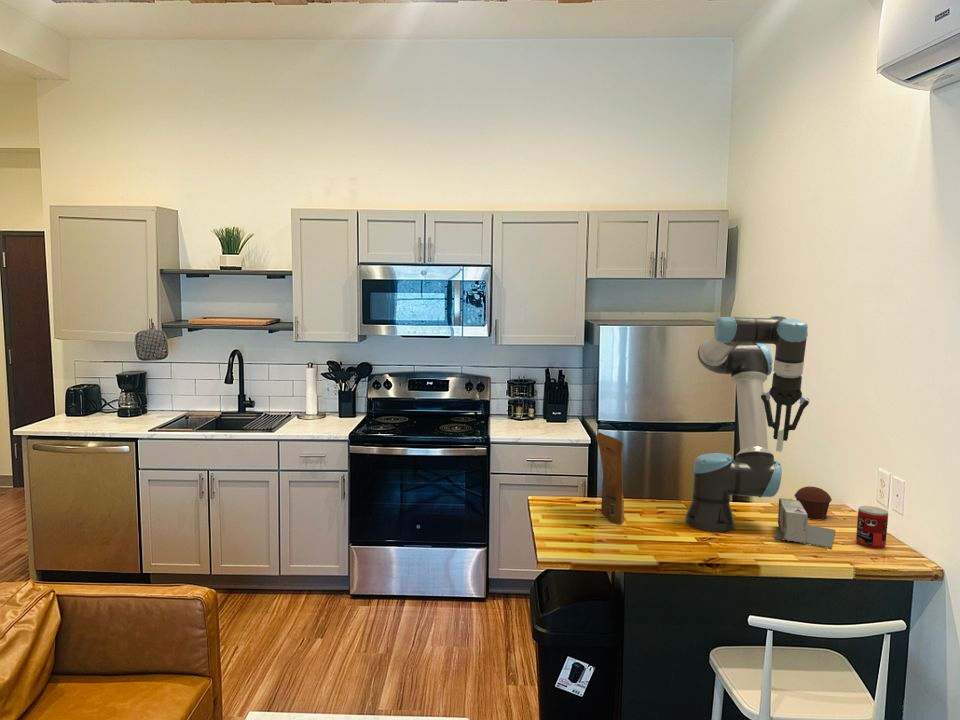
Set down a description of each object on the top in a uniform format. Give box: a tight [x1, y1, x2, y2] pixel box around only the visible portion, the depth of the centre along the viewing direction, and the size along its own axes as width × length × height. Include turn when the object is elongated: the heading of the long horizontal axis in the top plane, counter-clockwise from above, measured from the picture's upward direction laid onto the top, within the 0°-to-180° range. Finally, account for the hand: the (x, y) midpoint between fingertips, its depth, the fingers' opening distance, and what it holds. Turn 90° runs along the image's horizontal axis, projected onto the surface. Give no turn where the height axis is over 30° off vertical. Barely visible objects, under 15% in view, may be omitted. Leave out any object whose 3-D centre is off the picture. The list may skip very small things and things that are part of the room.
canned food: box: [855, 505, 889, 549], centre depth 205 cm, size 8×8×11 cm
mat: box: [773, 524, 836, 549], centre depth 213 cm, size 16×19×1 cm
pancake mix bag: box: [595, 431, 625, 525], centre depth 224 cm, size 7×19×28 cm, turn 8°
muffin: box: [793, 485, 833, 520], centre depth 233 cm, size 12×11×10 cm
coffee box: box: [777, 498, 809, 543], centre depth 212 cm, size 9×6×16 cm
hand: (779, 449), depth 196 cm, fingers closed
